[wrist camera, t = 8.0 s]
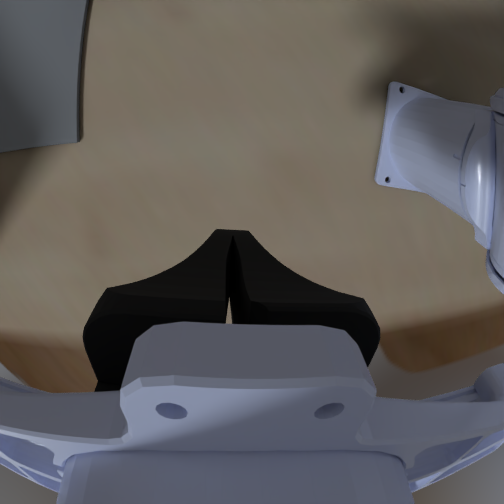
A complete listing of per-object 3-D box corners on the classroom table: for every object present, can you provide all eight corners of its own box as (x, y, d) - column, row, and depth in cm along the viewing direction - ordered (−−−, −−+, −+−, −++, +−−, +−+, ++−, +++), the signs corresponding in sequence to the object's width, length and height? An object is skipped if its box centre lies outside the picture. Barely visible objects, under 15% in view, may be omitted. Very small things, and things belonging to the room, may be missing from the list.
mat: (109, -79, 9) (108, -80, 9) (79, 141, 19) (77, 142, 18) (-35, -12, 8) (-37, -12, 8) (-50, 162, 17) (-52, 164, 17)
